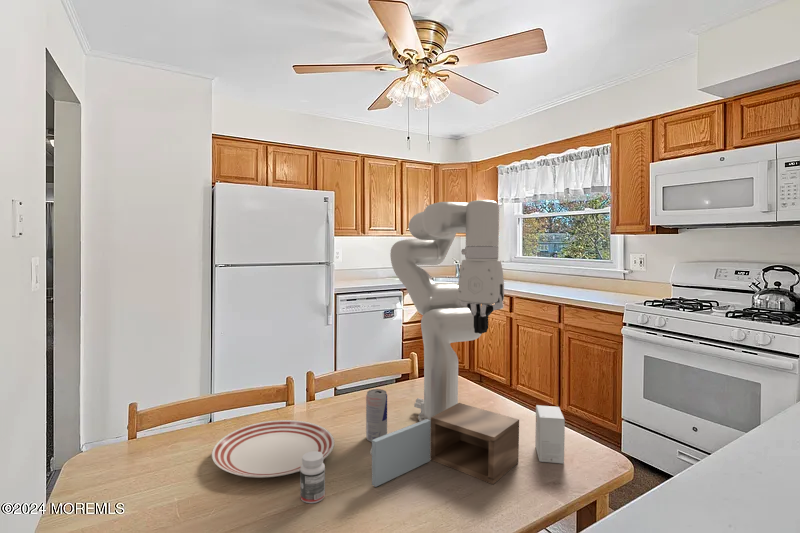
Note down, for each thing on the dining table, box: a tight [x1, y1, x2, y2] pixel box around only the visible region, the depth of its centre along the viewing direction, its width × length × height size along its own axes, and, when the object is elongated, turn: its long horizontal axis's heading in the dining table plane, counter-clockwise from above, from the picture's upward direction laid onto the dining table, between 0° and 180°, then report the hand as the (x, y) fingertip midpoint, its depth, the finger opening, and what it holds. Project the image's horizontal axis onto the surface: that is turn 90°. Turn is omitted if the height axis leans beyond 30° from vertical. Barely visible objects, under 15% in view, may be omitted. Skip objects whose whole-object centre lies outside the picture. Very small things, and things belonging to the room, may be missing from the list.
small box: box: [534, 404, 566, 465], centre depth 103 cm, size 8×6×10 cm
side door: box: [369, 419, 431, 488], centre depth 95 cm, size 16×3×9 cm, turn 132°
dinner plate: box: [211, 419, 335, 479], centre depth 102 cm, size 28×27×3 cm
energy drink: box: [365, 388, 388, 443], centre depth 111 cm, size 5×5×12 cm
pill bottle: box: [299, 451, 326, 504], centre depth 86 cm, size 5×5×8 cm
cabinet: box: [430, 402, 520, 485], centre depth 100 cm, size 16×12×10 cm
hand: (480, 332), depth 102 cm, fingers closed
